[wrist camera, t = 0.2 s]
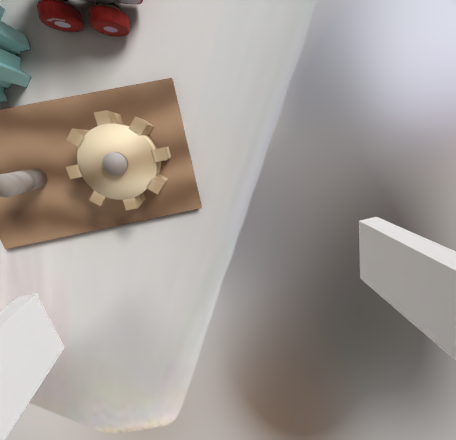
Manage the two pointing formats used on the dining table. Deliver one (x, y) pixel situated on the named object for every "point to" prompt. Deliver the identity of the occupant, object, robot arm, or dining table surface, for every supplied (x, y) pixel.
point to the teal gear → (11, 58)
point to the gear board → (57, 153)
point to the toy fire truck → (99, 15)
